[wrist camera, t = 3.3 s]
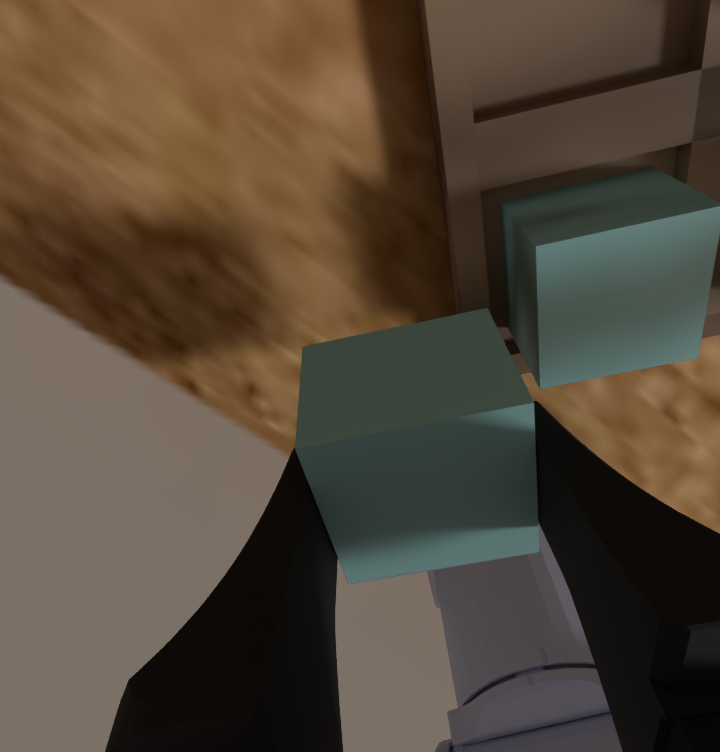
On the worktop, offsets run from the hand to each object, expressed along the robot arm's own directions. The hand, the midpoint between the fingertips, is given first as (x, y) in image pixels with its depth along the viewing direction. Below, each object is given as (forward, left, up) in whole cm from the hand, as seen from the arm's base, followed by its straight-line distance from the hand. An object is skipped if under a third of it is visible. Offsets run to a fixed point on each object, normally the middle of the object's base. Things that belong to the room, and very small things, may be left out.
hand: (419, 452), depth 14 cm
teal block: (0, 0, -2) cm, 2 cm away
